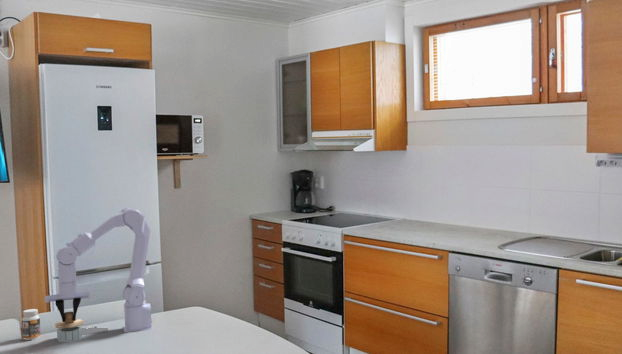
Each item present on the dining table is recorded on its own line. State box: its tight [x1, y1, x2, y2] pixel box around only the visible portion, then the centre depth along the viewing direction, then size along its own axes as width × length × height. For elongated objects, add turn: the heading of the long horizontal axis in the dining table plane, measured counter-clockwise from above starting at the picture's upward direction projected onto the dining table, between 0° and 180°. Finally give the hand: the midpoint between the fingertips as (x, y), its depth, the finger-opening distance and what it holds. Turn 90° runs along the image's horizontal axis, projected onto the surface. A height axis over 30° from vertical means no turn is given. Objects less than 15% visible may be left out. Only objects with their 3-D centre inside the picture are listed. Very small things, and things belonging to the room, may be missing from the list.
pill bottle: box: [21, 308, 41, 341], centre depth 212 cm, size 6×6×10 cm
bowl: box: [56, 325, 83, 343], centre depth 209 cm, size 8×8×4 cm
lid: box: [54, 311, 84, 329], centre depth 209 cm, size 9×9×4 cm
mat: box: [82, 326, 109, 336], centre depth 219 cm, size 10×10×1 cm
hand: (69, 320), depth 209 cm, fingers closed on lid, 3 cm apart
